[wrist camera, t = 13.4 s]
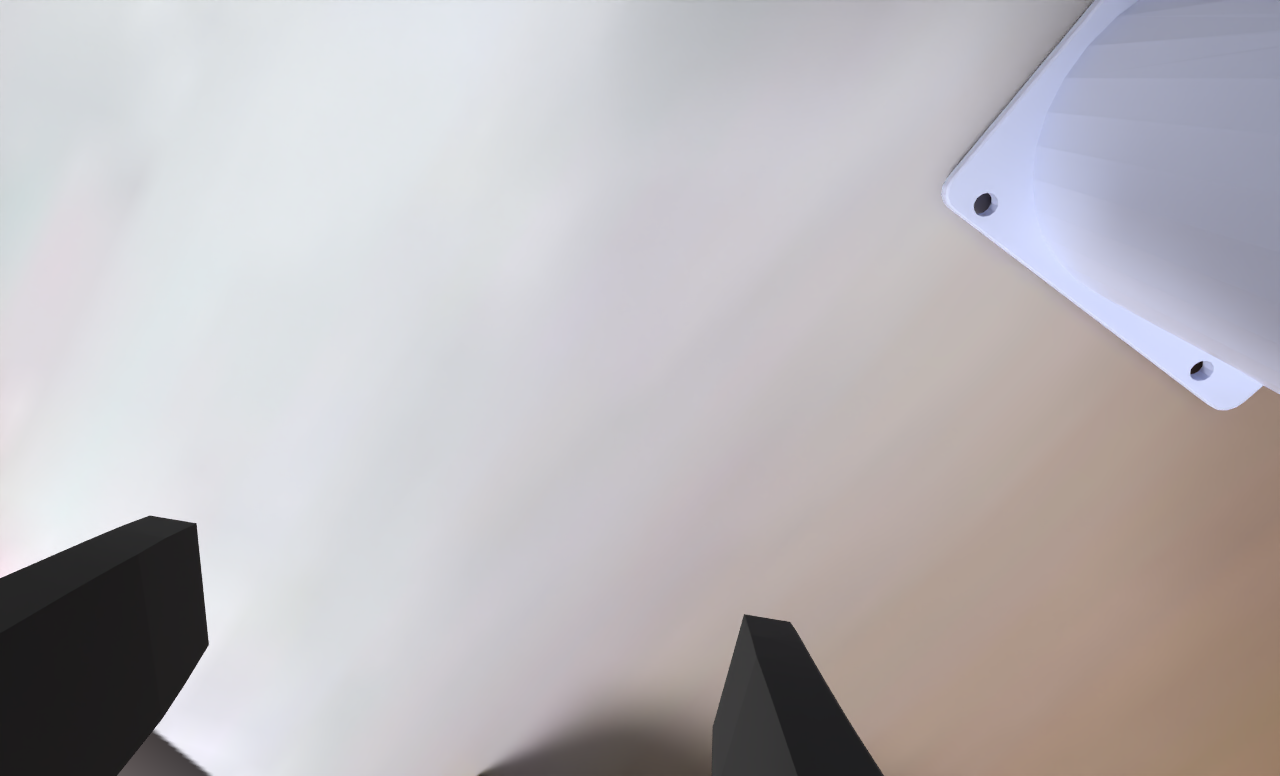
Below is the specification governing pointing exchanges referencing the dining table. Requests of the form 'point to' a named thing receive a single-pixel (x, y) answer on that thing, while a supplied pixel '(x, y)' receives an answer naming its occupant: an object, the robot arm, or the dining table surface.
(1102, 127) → the robot arm
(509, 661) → the dining table surface
